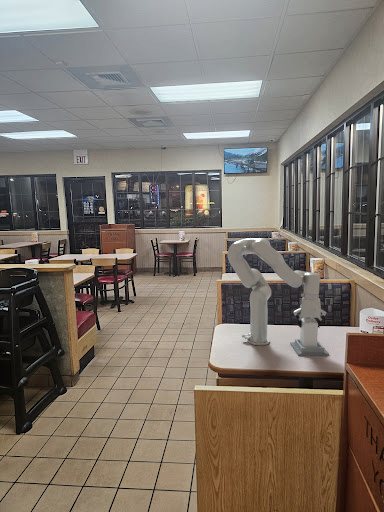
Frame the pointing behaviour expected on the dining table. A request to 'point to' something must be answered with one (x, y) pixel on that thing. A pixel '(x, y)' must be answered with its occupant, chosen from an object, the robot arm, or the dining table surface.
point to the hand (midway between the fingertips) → (308, 326)
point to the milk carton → (309, 332)
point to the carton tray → (308, 349)
